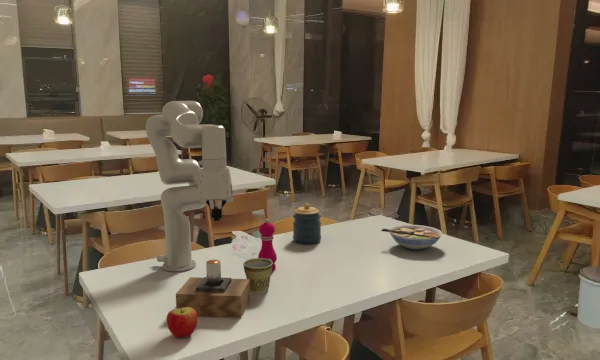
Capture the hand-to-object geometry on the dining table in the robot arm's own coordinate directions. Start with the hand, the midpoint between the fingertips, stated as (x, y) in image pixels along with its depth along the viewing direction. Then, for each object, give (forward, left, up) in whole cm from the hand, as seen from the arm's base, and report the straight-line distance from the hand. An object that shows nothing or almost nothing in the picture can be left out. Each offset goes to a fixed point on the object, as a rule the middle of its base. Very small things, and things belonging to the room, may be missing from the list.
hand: (217, 220), depth 161 cm
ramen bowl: (+72, +60, -26) cm, 97 cm away
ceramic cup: (+13, +7, -26) cm, 30 cm away
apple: (-3, -28, -26) cm, 38 cm away
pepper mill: (+12, +27, -26) cm, 40 cm away
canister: (+24, +66, -26) cm, 75 cm away
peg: (+1, -9, -20) cm, 22 cm away
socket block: (+1, -9, -26) cm, 28 cm away
